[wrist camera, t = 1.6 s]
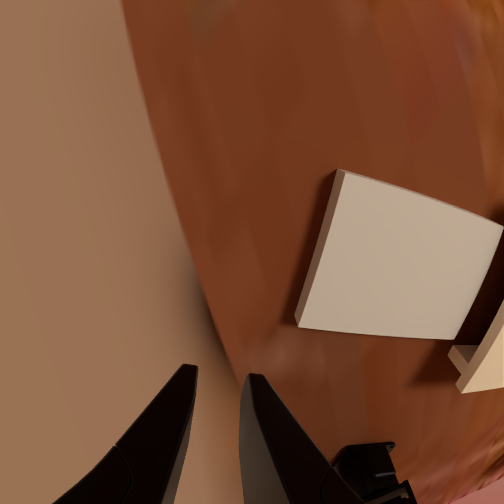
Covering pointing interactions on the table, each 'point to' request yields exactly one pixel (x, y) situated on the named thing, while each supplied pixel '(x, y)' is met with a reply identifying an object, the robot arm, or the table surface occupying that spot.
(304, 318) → the pale wall plate
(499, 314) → the cream rectangular slab
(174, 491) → the robot arm
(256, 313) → the table surface
